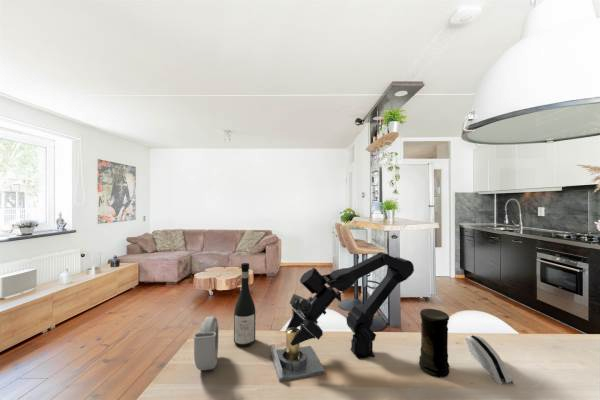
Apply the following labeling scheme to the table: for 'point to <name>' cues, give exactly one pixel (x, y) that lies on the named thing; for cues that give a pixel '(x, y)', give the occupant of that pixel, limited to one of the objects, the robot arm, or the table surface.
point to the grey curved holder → (206, 344)
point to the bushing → (291, 351)
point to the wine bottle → (244, 313)
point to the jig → (296, 364)
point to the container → (434, 343)
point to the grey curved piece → (488, 359)
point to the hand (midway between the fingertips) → (288, 338)
